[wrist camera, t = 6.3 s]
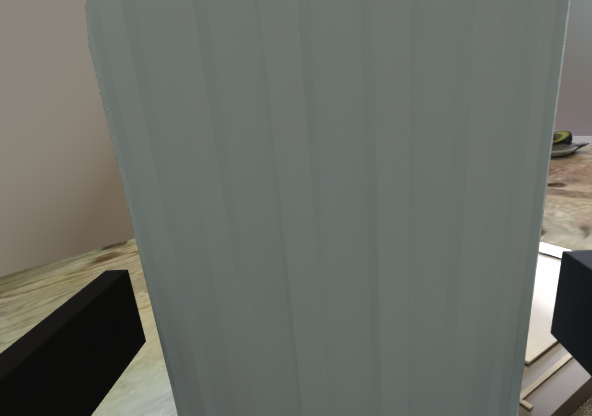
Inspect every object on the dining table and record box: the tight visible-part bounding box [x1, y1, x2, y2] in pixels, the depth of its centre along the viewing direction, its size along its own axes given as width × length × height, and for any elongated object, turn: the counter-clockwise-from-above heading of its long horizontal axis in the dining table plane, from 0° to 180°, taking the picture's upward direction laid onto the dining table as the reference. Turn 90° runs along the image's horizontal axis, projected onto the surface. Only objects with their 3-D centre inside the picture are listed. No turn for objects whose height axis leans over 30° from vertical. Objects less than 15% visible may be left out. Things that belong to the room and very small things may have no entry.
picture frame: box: [518, 242, 592, 416], centre depth 30 cm, size 24×18×2 cm
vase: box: [85, 0, 571, 416], centre depth 12 cm, size 12×12×22 cm
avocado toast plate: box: [551, 131, 589, 157], centre depth 86 cm, size 19×18×5 cm
